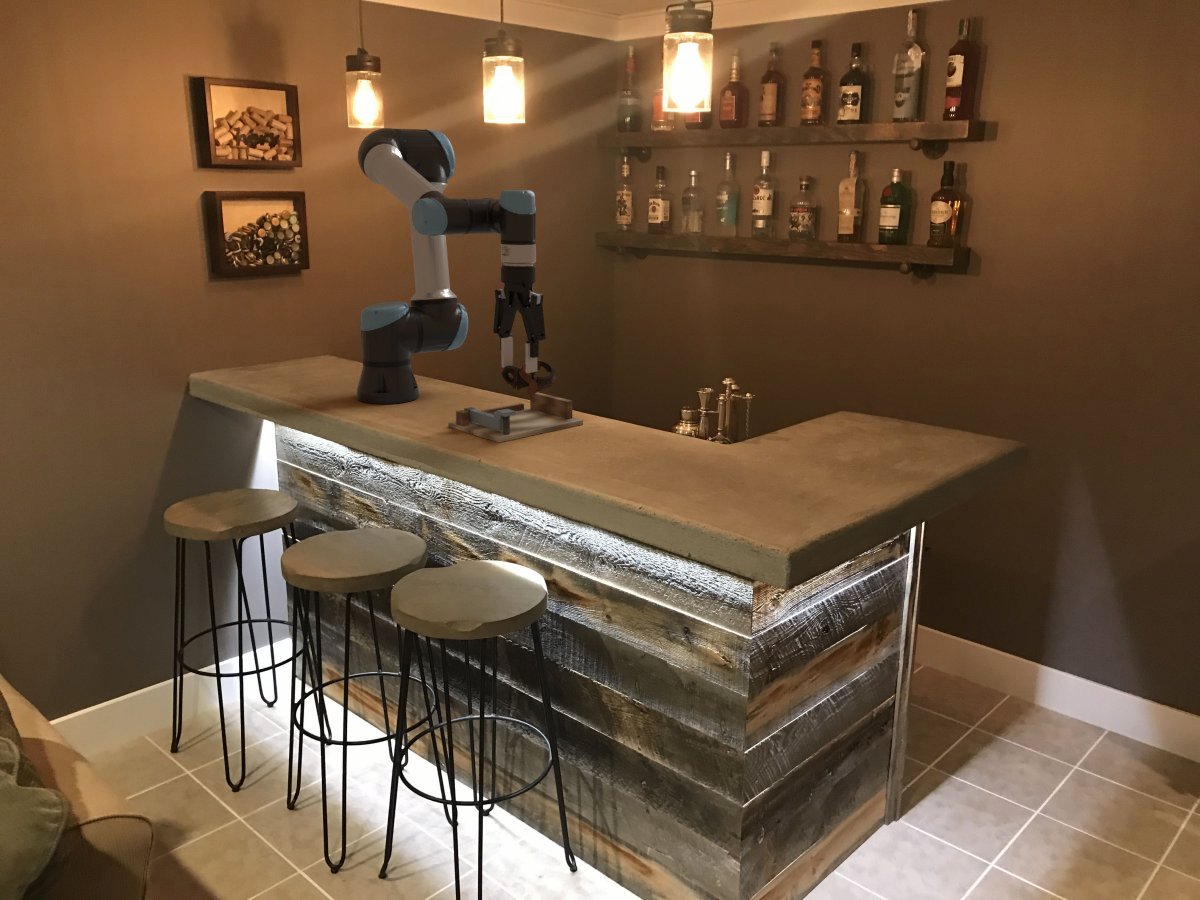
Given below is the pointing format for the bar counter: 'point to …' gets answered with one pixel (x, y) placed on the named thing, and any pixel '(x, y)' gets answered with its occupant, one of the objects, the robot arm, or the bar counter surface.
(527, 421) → the board
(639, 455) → the bar counter surface
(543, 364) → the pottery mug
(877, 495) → the bar counter surface
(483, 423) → the leg
